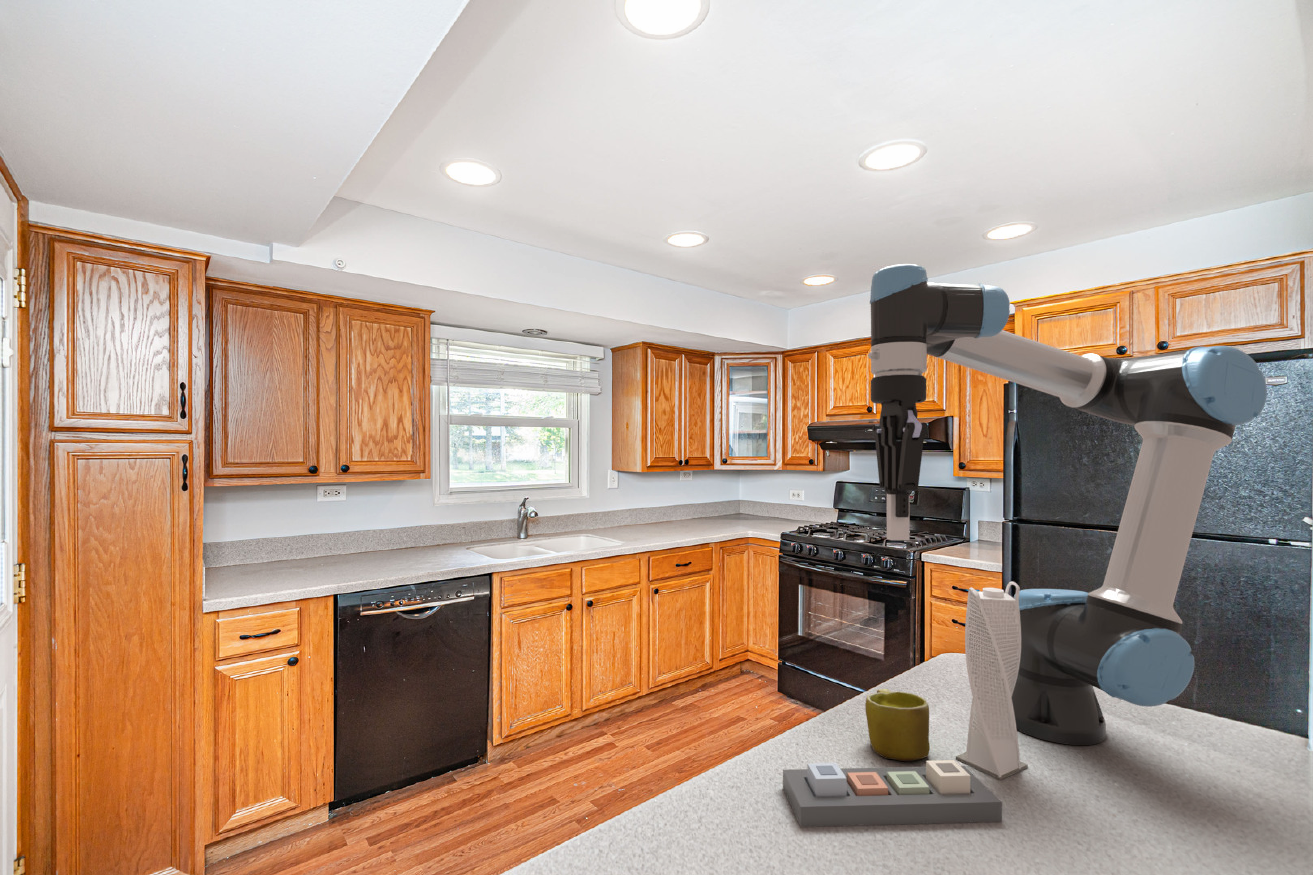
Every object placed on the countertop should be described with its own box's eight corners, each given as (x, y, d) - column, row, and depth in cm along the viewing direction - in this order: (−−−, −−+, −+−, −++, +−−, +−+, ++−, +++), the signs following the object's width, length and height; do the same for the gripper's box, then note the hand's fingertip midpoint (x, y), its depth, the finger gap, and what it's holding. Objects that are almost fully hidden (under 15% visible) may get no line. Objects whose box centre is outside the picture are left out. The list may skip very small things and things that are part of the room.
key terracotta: (875, 793, 86) (875, 771, 86) (888, 810, 82) (888, 787, 82) (847, 794, 86) (847, 771, 86) (857, 811, 82) (857, 787, 82)
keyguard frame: (964, 783, 89) (964, 765, 89) (1002, 821, 80) (1002, 801, 80) (782, 787, 88) (782, 769, 88) (800, 826, 79) (800, 806, 79)
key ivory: (954, 781, 87) (954, 759, 87) (970, 798, 83) (970, 774, 83) (926, 782, 87) (926, 759, 87) (940, 799, 83) (940, 775, 83)
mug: (950, 760, 92) (925, 689, 95) (880, 775, 94) (857, 705, 97) (936, 739, 104) (914, 676, 106) (874, 752, 106) (854, 691, 108)
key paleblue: (836, 784, 86) (836, 761, 86) (846, 801, 82) (846, 777, 82) (807, 785, 86) (807, 762, 86) (816, 802, 82) (816, 778, 82)
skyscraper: (1037, 771, 93) (1037, 580, 93) (1006, 787, 89) (1006, 587, 89) (982, 747, 100) (982, 570, 100) (951, 760, 96) (951, 576, 96)
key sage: (915, 792, 87) (915, 770, 87) (929, 809, 83) (929, 786, 83) (886, 793, 86) (886, 770, 86) (899, 810, 82) (899, 786, 82)
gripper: (856, 379, 97) (855, 533, 97) (891, 370, 84) (891, 547, 84) (903, 380, 98) (903, 532, 97) (946, 370, 85) (946, 546, 84)
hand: (897, 539), depth 91 cm, fingers closed
